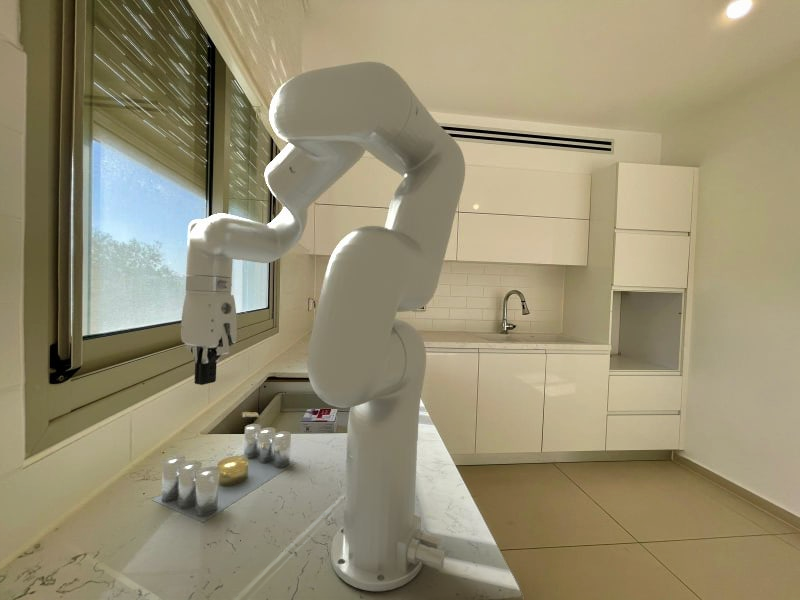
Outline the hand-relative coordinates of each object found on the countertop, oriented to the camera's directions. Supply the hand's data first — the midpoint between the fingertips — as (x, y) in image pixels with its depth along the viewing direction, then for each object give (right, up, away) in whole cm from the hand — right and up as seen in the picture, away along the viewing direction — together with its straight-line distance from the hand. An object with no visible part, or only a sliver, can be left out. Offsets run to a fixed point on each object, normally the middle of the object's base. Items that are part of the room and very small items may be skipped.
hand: (205, 382), depth 63 cm
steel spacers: (+7, -17, -3) cm, 19 cm away
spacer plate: (+7, -17, -3) cm, 19 cm away
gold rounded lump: (+7, -17, -3) cm, 18 cm away
